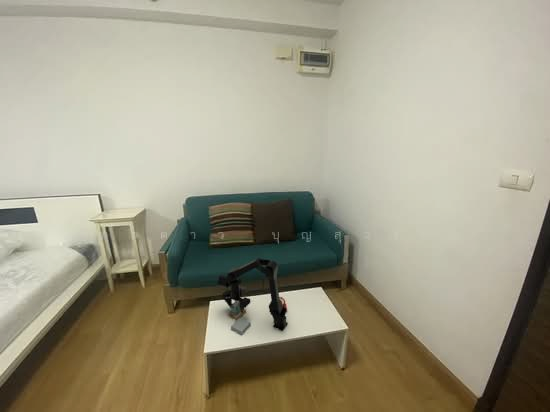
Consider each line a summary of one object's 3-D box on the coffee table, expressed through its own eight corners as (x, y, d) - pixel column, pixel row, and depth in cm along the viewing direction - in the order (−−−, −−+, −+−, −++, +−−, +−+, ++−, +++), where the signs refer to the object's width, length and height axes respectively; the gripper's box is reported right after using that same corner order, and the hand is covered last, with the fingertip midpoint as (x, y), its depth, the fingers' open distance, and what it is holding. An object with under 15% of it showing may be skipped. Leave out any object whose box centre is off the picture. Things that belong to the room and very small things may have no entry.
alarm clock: (284, 294, 155) (288, 305, 140) (284, 303, 155) (289, 315, 140) (269, 296, 153) (271, 307, 138) (269, 305, 153) (272, 317, 139)
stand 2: (250, 325, 133) (250, 322, 133) (242, 335, 127) (241, 331, 126) (240, 320, 138) (239, 317, 137) (231, 329, 131) (230, 326, 130)
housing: (243, 309, 143) (242, 302, 142) (236, 316, 138) (235, 309, 136) (237, 306, 146) (236, 299, 145) (229, 313, 140) (229, 306, 139)
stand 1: (246, 312, 144) (245, 309, 143) (237, 321, 137) (237, 317, 137) (236, 308, 148) (236, 305, 147) (227, 316, 141) (227, 312, 141)
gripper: (255, 285, 139) (256, 307, 143) (232, 277, 149) (233, 297, 153) (243, 296, 130) (245, 318, 134) (219, 286, 140) (222, 307, 144)
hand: (236, 310), depth 142 cm, fingers open, 9 cm apart
